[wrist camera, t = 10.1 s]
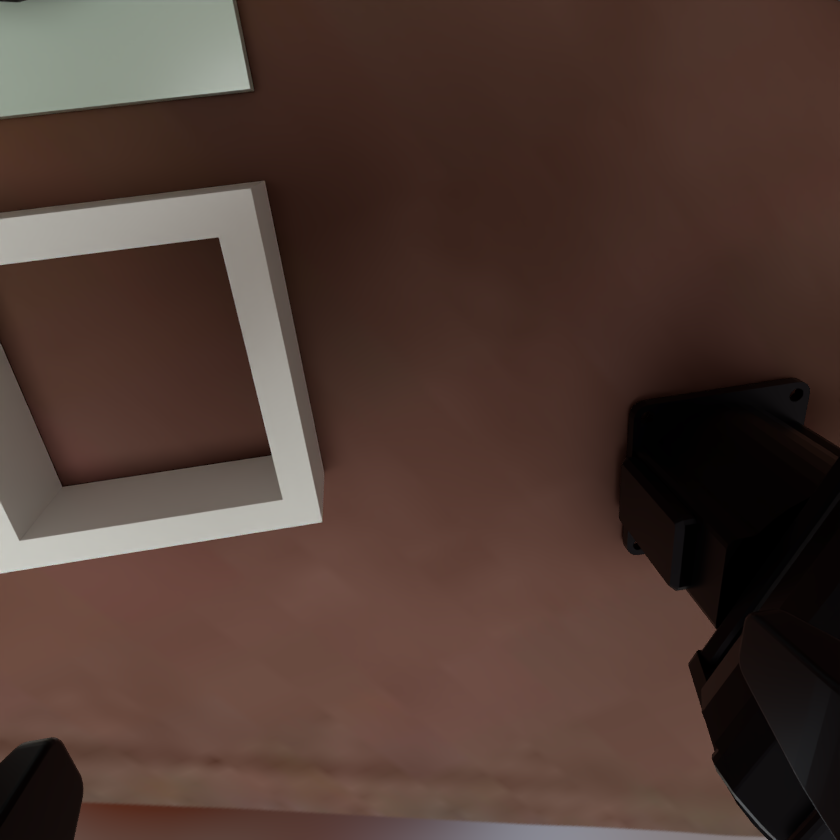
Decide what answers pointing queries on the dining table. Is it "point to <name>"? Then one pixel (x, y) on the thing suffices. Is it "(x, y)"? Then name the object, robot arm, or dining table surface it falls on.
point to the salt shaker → (12, 0)
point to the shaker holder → (184, 488)
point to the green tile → (117, 53)
